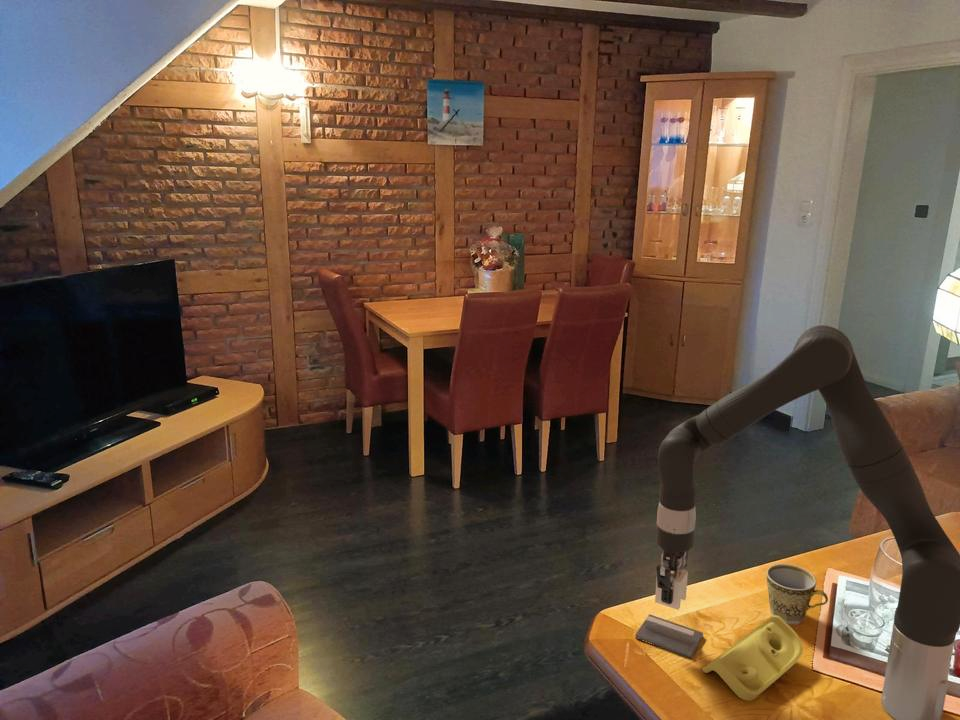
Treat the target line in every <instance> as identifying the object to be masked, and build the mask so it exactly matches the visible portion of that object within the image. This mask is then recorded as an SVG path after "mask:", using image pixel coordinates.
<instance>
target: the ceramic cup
mask: <svg viewBox="0 0 960 720" xmlns="http://www.w3.org/2000/svg"><path fill="white" fill-rule="evenodd" d="M766 584H767V590H768V601H769V612H770V613H771V616H774V615H777V616H780V617H781V618H782V619H783V620H784V621H785V622H786V623H787V624H788V625H795V626H797V625H800V624H801V623H802V622H803V621H804V619H805V617H806V614H807V612H808V610H810V609H813V608H816V607H820V606H824V605H827V603H828V602H829V597H828V595H827V593H826V592H824V591H823V590H820V589H816V585H817V579H816V577H815V576H814V575H813V574H812V573H811V572H810V571H809V570H807V569H805V568H803V567H801V566H798V565H795V564H794V565H793V564H789V563H777V564H773V565H771V566H770V567H768V568H767V570H766ZM815 595H821V597H822V596H823V598H824V599H825V600H824V602H819V603H814V604H813V605H810V603H811V600H812V597H813V596H815Z"/></svg>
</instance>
